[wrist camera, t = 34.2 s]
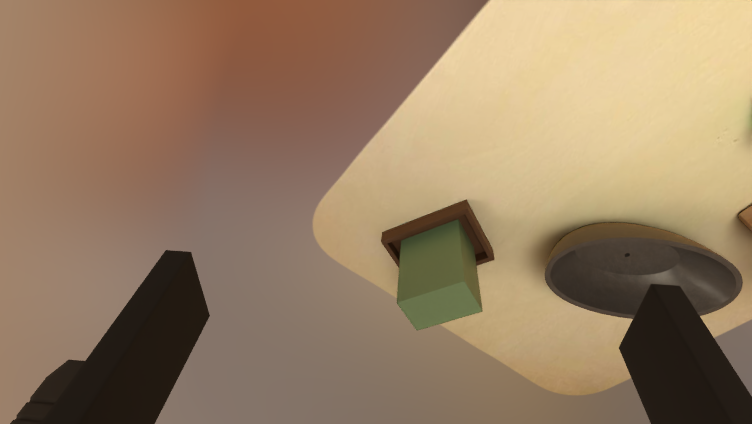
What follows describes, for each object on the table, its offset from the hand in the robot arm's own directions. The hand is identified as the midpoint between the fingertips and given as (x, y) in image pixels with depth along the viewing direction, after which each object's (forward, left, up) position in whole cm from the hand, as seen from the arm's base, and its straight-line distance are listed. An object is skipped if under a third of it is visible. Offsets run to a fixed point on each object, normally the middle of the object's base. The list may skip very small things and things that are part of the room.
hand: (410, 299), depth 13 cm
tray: (+4, -27, -37) cm, 46 cm away
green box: (+4, -27, -36) cm, 45 cm away
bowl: (+27, -26, -37) cm, 53 cm away
